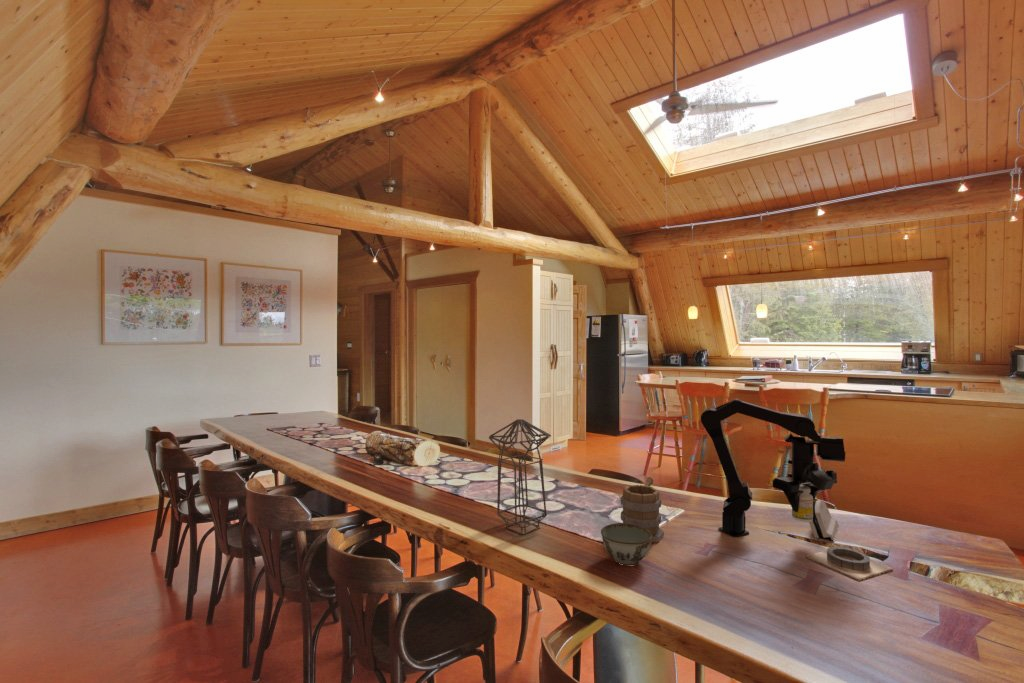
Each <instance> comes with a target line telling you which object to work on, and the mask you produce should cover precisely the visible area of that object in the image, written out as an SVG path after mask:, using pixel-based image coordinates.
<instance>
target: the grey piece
mask: <svg viewBox="0 0 1024 683" xmlns="http://www.w3.org/2000/svg"><path fill="white" fill-rule="evenodd" d="M808 523H809V525H810V526H809V527H810V529H811V532H812V535H813V537H817V538H816V539H819V538H821V537H823V538H824V539H825V538H830V539H831V541H832V540H834V538H835V539H836V537H835V534H836V535H837V533H836V531H837V532H838V529H837V528H839V523H838V521H837V519H836V518H834V517H832V515H831V513H830V511H829V508H828V505H827V504H826V501H825V500H823V499H818V500H814V502H813V520H812V521H811V522H808Z"/></svg>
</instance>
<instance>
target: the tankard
mask: <svg viewBox="0 0 1024 683" xmlns="http://www.w3.org/2000/svg"><path fill="white" fill-rule="evenodd" d="M653 484H654V479H653V478H652V477H650V476H648V477H647V478H646V480H645V483H644V485H643V484H633V485H631V484H630V485H627V486H625V487H624V488H623V489H622V495H621V497H620V504H621V506H622V511H621V512H620V520H621V521H622V523H629V524H634V525H638V526H641V527H644V528H646V529H647V530H649V531H650V532H651V534H652V538H651V542H654V543H659V542H660V541H661V539H662V538H664V536H665V532H664V530H663V529H661V527H660V524H661V523H662V515H661V514H660V509H661V507H662V499H661V498H660V491H659V490H658V489H656V488H655V487H653V486H651V485H653Z"/></svg>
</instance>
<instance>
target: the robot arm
mask: <svg viewBox="0 0 1024 683" xmlns="http://www.w3.org/2000/svg"><path fill="white" fill-rule="evenodd" d="M735 414H741V415H744V416H748V417H751V418H755V419H758V420H759V421H760V420H761V421H764V422H766V423H767V422H768V423H770V424H771V423H772V424H774V425H777V426H779V427H781V428H783V429H784V430H787V431H789V432H790V433H789V434H788V435H786V436H785V437H784V442H785V443H791V459H787V463H788V464H790V465H791V466H790V467H791V472H788V473H787V477H784V476H779V477H774V478H773V479H772V480H771V483H772V485H771V486H772V488H775V489H777V490H781V491H782V492H783V493H784V495H785V498H786V499H787V500H788V502H789V504H790V507H791V510H792V509H793V511H795V512H798V508H799V498H800V495H801V494H802V493H803V492H804V491H801V490H800V486H801V485H805V486H808V487H810V491H811V492H810V493H809V494H811V495H812V497H813V502H814V501H816V497H817V495H818V493H819V492H820V491H826V490H832V488H833V486H834V484H837V483H838V479H837V478H838V476H837V475H838V474H837V471H834V469H828V470H826V471H825V470H821V469H820V468H819V464H818V462H817V461H815V455H816V457H819V459H820V460H822V461H830V462H831V461H833V462H842V463H844V462H845V461H846V451H845V445H844V438H843V437H840V436H838V437H837V436H835V437H831V436H821V433H819V432H818V431H816V426H815V423H814V421H813V420H812V418H811V417H810V416H808V415H806V414H802V413H793V412H783V411H777V410H775V409H771V408H768V407H764V406H761V405H758V404H754V403H750V402H748V401H743V400H741V399H740V398H733V399H731V401H727V402H726V403H723V404H721V405H719V406H716V407H711V406H710V407H707V408H705V409H704V410H703V412H702V413H701V415H700V422H701V424H702V426H703V428H704V429H705V431H706V432H707V434H708V436H709V437H710V438H711V440H712V443H713V446H714V449H715V451H716V455H717V456H718V459H719V463H720V465H721V468H722V471H723V474H724V476H725V479H726V482H727V489H728V490H727V491H728V495H729V496H728V497H727V498H725V499H724V500H723V506H722V510H723V511H722V513H721V514H722V516H721V518H722V520H721V522H722V523H721V524H722V526H720V527H718V530H719V531H721V532H723V533H725V534H727V535H729V536H731V537H740V536H745V535H749V534H750V531H748V530H746V520H747V519H746V511H748V510H749V509H750V508H751V505H752V500H753V492H752V491H751V489H750V487H749V481H748V480H747V481H743V480H742V479H741V478H742V477H740V474H739V472H738V470H737V467H736V463H735V461H734V458H733V456H732V453H731V450H730V447H729V445H728V442H727V439H726V436H725V432H724V425H723V421H724V420H725V419H727V418H730V417H733V415H735ZM792 433H793V434H795V435H797V436H795V435H793V434H792ZM806 438H808V439H806ZM814 454H815V455H814Z"/></svg>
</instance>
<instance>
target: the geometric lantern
mask: <svg viewBox="0 0 1024 683" xmlns="http://www.w3.org/2000/svg"><path fill="white" fill-rule="evenodd" d="M507 428H508V430H506V432H504V434H503V435H498V433H500V432H502V431H504V430H505V429H507ZM519 428H520V430H519ZM515 429H516V430H515ZM519 432H520V439H521V441H518V437H519ZM539 433H540V434H539ZM513 434H514V435H513ZM523 435H524V436H525V438H526V440H523ZM529 435H530V436H529ZM530 437H531V438H530ZM536 437H538V439H537V438H536ZM550 437H552V435H551V434H550V433H548V432H546V431H544V430H543V429H541V428H539V427H537V426H535V425H533V424H532V423H531V422H528V421H526V420H525V419H523V418H522V419H519V418H517V419H516V420H514V421H512V422H511V423H509V424H508V425H505V426H504V427H502V428H500V429H498V430H497V431H495V432H494V433H492V434H490V435H489V436H488V439H489V440H490V442H492V443H493V444H494V445H495V447H496V448H497V449H498V450H499V455H498V460H497V508H496V509H497V510H496V511H497V512H496V513H497V514H496V516H498V517H499V518H501V519H502V520H503V521H504V523H506V525H505V527H507V528H508V530H509V529H511V530H510V531H512V530H513V531H512V532H514V531H516V532H515V533H517V532H519V531H518V530H515V529H512V528H510V527H511V526H514V527H516V528H517V527H518V528H519V529H520V532H519V533H522V534H523V533H527V534H529V533H528V532H530V533H532V532H534V531H536V529H537V530H539V529H541V526H540V522H541V521H542V520H543V519H545V518H546V517H547V515H548V513H547V505H546V492H545V480H544V465H543V458H541V454H540V449H539V448H540V446H542V445H543V443H544V442H546V440H548V439H549V438H550ZM499 438H500V439H499ZM508 439H509V441H508ZM495 441H497V442H498V444H497V443H496V442H495ZM524 443H528V445H529V446H528V447H527V446H526V445H525V444H524ZM501 444H502V448H501ZM516 444H520V445H521V446H522V447H523V448H525V450H527V451H526V453H525V454H523V455H522V454H520V452H518V450H517V449H516V448H515V447H514V445H516ZM533 444H534V445H536V447H533V448H532V446H533ZM506 445H508V447H506ZM510 448H513V449H514V450H515V452H516V453H517V455H511V453H510V452H509V449H510ZM535 450H536V451H537V453H538V457H536V456H535V457H534V456H531V455H528V454H529V453H530V452H532V451H535ZM504 452H507V454H508V456H509V457H505V458H503V456H504ZM517 457H518V464H516V462H515V460H514V459H513V458H517ZM526 457H527V458H530V459H534V460H535V459H536V460H537V461H534V462H530V463H526V462H527V459H526ZM521 458H522V460H521ZM508 459H509V460H511V461H512V463H509V462H506V461H505V460H508ZM538 460H539V461H538ZM504 461H505V462H504ZM523 462H524V464H523ZM537 463H538V466H539V472H540V474H539V475H540V483H541V489H542V490H541V491H542V498H543V499H542V500H543V508H544V509H541V508H537V507H534V506H532V505H529V501H528V500H529V497H528V482H527V481H528V480H527V479H528V478H527V466H530V465H534V464H537ZM502 464H505V465H510V466H512V467H513V468H514V476H513V477H514V479H513V480H514V506H512V507H508V508H506V509H502V510H500V507H501V506H500V502H501V480H502ZM522 467H524V482H525V483H524V482H523V472H522V470H523V468H522ZM517 468H518V503H517ZM524 484H525V496H524ZM521 500H522V504H521ZM525 500H526V501H525ZM525 502H526V504H525ZM517 504H518V505H517ZM521 507H522V511H521ZM517 508H518V510H519V515H518V512H517ZM528 508H530V509H534V510H536V511H539V512H541V513H542V512H543V514H541V515H539V516H537V517H531V516H527V515H526V512H527V510H528ZM513 509H514V517H512V518H508V517H506V516H503V515H502V514H501V513H505V512H507V511H510V510H513ZM522 514H523V515H522ZM518 518H519V521H518ZM526 518H529V519H526ZM532 521H534V522H532ZM529 523H530V524H529ZM521 524H524V525H523V526H522V525H521ZM526 524H527V525H526ZM532 525H533V526H535V527H537V526H538V527H537V528H534V529H532V530H529V531H526V528H528V527H529V526H532ZM508 526H509V527H508ZM507 528H506V529H507ZM523 529H524V532H523ZM531 531H532V532H531ZM519 533H518V534H519ZM522 534H521V535H522ZM523 535H524V534H523Z"/></svg>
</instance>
